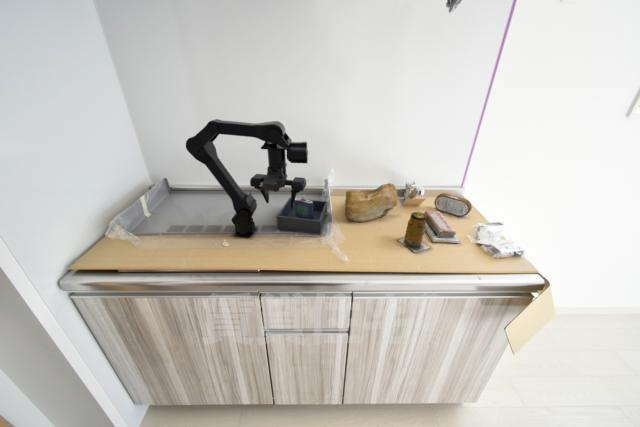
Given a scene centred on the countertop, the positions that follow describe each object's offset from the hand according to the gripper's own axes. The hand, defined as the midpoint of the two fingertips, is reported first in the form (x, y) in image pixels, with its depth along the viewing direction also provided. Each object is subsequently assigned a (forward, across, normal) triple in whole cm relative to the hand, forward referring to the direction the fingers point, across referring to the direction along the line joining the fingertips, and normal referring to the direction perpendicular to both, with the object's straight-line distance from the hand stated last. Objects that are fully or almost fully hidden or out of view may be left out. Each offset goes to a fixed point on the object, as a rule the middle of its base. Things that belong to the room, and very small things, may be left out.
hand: (279, 204), depth 88 cm
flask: (+12, +6, +11) cm, 18 cm away
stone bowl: (+13, +32, +23) cm, 42 cm away
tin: (+13, +70, +31) cm, 78 cm away
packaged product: (+13, +61, +14) cm, 64 cm away
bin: (+13, +6, +12) cm, 18 cm away
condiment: (+13, +50, +3) cm, 52 cm away
